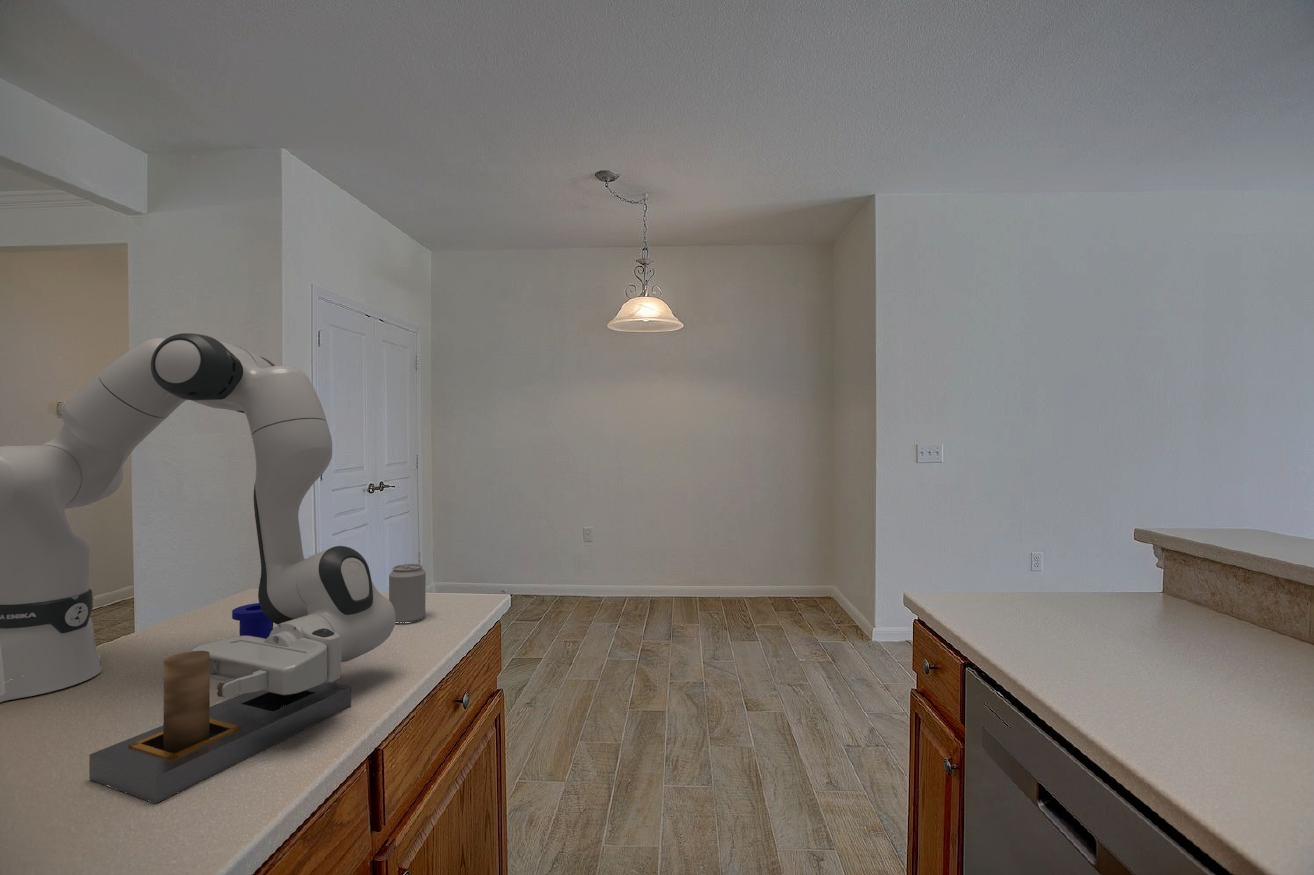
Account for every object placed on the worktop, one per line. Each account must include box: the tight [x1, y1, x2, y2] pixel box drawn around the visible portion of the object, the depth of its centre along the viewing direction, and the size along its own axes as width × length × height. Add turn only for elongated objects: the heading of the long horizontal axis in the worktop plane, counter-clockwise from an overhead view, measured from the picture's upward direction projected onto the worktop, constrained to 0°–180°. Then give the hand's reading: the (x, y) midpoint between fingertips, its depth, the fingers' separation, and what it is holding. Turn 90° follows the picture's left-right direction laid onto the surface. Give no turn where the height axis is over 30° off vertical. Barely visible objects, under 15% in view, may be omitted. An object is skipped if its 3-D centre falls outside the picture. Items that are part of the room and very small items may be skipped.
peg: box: [162, 650, 211, 754], centre depth 74 cm, size 4×4×13 cm
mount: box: [231, 602, 274, 639], centre depth 111 cm, size 15×8×9 cm, turn 169°
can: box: [388, 563, 427, 623], centre depth 131 cm, size 8×8×12 cm
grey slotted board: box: [88, 682, 352, 805], centre depth 79 cm, size 12×26×3 cm, turn 159°
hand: (196, 685), depth 75 cm, fingers open, 8 cm apart
